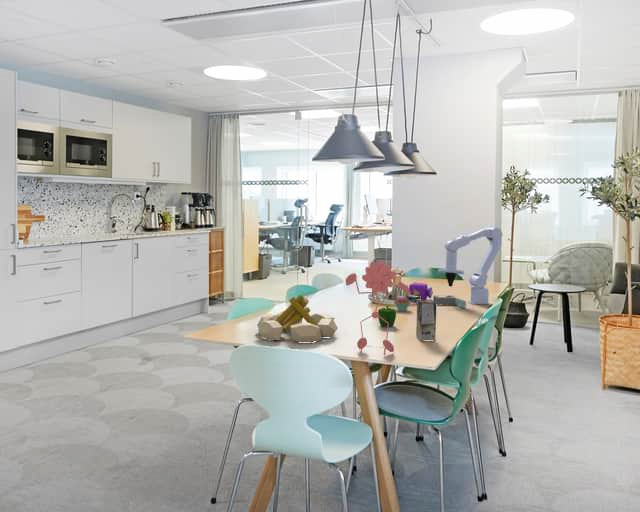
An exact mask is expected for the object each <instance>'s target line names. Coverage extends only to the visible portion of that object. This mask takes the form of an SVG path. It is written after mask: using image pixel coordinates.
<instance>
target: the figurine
mask: <svg viewBox="0 0 640 512" xmlns="http://www.w3.org/2000/svg"><path fill="white" fill-rule="evenodd" d="M364 270H365V274H363V275H361V279H362V280H363V282H365V288H367V289H371V291H360V289H359V285H358V280H357V279H358V278H357V274H356V272H353V273H350V274H349V275H348V276H347V277H346V278H345V280H344V281H345V285H346V287H348V286H350V285H352V284H354V283H355V285H356V290H357V293H358V294H359V295H360V294H361V295H363V294H373V295H374V296H375V297H376V298H377V299H378V300H377V303H376V307H375V310H374V311H372V313H371V315H370V316H368V317H366V318H364V319H362V320H360V322H359V324H360V329H361V333H360V334H361V337H360V338H359V339H358V340H357V342H356V345H357V346H356V347H358V350H359V351H360V352H359V354H360V353H363V349H364V348H365V346H368V340H367V338H366V337H364V335H363V334H364V333H363V325H362V322H364V321H366V320H368V319H370V318H372V319H379V318H378V317H380V316H379V314H378V308H379V304H380V301H381V298H380V297H382V298H385V299H388V298H390V296H391V294H392V293H393V292H394V291H395V290H396V289H397V287H398V286H399V288H400V289H401V290H402V291H403V292H404V293H405V292H406V294H407V295H408V296H409V295H410V290H409V286H407V285H406V284H404V283H403V282H402V281H401V280H399V281H398V282H397V284H396V285H395V286H394V282H393V280H394V279H395V278H396V275H395V274H394V273H393V272H391V270H392V265H390V264H386V263H385V262H384V261H380V262H378V263H377V262H376V261H374V260H372V261H371V262H370V263H369V266H365V269H364ZM388 288H392V290H391V291H390V292H389V293H388V295H387V296H385V295H383V294H386V293H387V291H388ZM379 292H381V293H383V294H380V293H379ZM379 296H380V297H379ZM380 318H381V317H380ZM381 319H382V320H384V319H383V318H381ZM384 321H385V320H384ZM385 322H386V321H385ZM386 323H388V322H386ZM386 327H387V329H386V336H385V337H386V339H383V340H382V345H383V348H384V347H385V348H384V349H383V355H385V356H386V351H388V352H390V353H391V352H393V353H394V351H395V348H394V347H395V346H394V345H393V343H392V342H391V341H390V340H388V337H389V336H388V335H389V327H390V326H389V324H388V326H386ZM360 349H361V350H360Z"/></svg>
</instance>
